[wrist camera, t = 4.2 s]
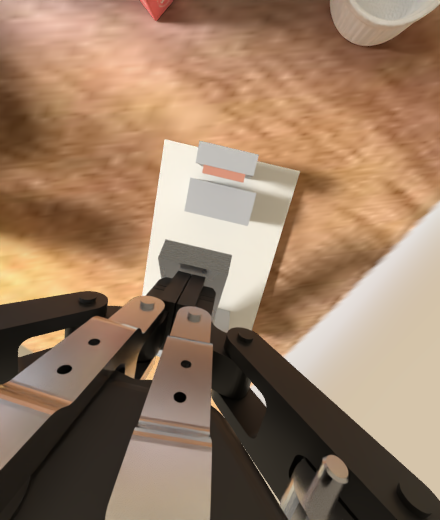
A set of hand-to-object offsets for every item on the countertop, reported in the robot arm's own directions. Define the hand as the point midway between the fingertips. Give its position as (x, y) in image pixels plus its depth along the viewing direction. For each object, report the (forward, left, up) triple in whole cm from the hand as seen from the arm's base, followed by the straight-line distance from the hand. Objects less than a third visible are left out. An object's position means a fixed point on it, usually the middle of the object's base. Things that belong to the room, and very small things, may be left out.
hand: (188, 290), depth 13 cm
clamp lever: (+4, 0, -6) cm, 7 cm away
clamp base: (+2, 0, -16) cm, 16 cm away
